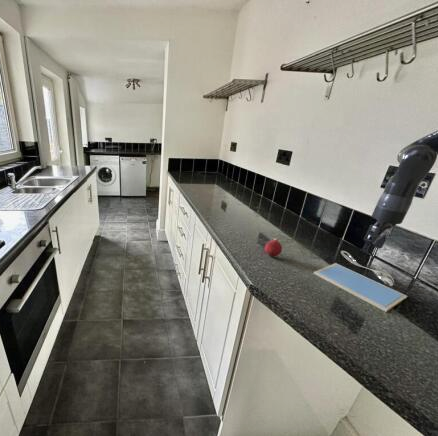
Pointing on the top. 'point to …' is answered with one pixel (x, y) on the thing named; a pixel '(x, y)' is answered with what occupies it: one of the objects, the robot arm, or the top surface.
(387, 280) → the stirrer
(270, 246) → the onion
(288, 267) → the top surface
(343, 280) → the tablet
